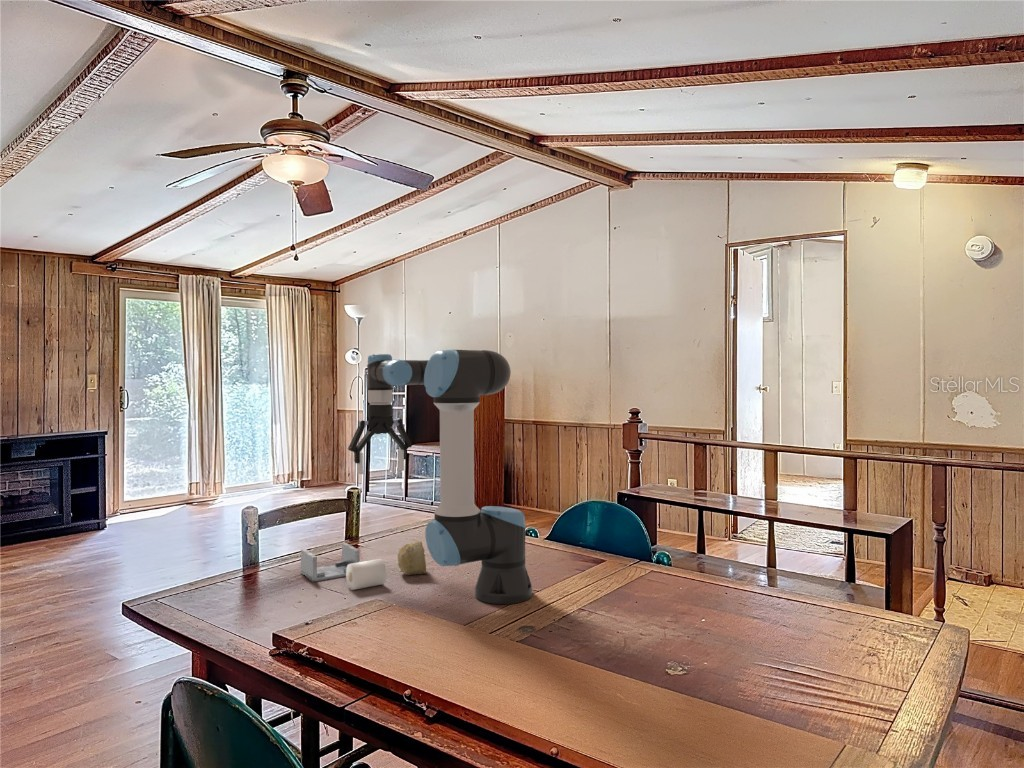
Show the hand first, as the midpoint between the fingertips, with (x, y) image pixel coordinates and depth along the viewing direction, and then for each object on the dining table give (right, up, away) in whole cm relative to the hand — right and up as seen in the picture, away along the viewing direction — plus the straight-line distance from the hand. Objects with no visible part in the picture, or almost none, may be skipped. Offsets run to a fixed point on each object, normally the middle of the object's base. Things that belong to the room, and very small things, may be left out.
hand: (380, 472), depth 220 cm
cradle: (-13, -28, -12) cm, 33 cm away
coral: (+12, -28, -12) cm, 33 cm away
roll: (0, -25, -25) cm, 35 cm away
